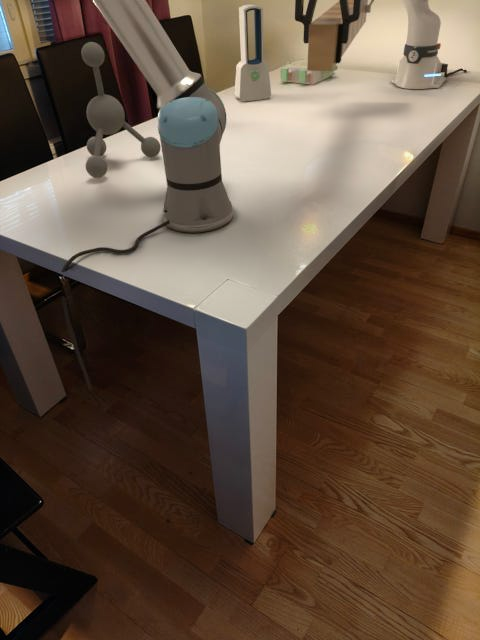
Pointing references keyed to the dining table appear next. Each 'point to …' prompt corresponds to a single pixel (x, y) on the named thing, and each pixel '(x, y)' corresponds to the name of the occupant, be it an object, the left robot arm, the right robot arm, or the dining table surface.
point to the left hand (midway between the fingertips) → (324, 61)
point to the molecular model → (107, 117)
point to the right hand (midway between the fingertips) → (356, 12)
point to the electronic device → (252, 72)
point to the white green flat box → (303, 73)
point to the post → (330, 36)
